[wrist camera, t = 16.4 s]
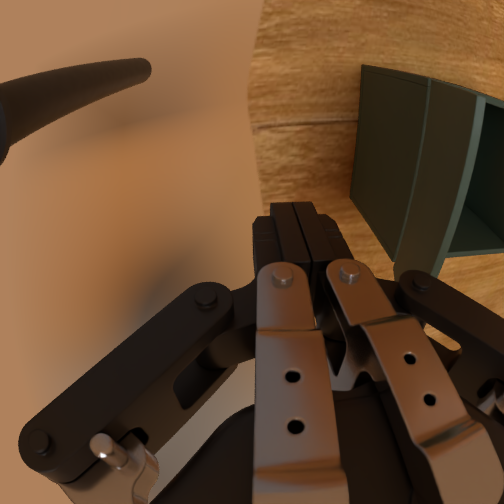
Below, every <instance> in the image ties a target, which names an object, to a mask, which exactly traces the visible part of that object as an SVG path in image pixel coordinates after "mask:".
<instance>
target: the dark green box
mask: <svg viewBox="0 0 504 504" xmlns="http://www.w3.org/2000/svg"><path fill="white" fill-rule="evenodd" d="M431 80H435V81H439V82H442V83H445V84H449V85H452V86H455V87H458V88H461V89H464V90H467V91H469V92H472V93H475V94H478V95H480V96H483V97H485V98H486V104H485V111H484V118H483V124H482V129H481V135H480V140H479V145H478V150H477V155H476V159H475V163H474V168H473V172H472V176H471V180H470V183H469V187H468V191H467V194H466V198H465V201H464V205H463V208H462V211H461V214H460V218H459V221H458V224H457V227H456V230H455V233H454V236H453V238H452V241H451V244H450V247H449V250H448V252H447V255H446V257H445V258H450V257H462V256H474V255H485V254H496V253H504V101H503V100H500V99H497V98H495V97H492V96H489V95H487V94H484V93H481V92H478V91H475V90H472V89H469V88H466V87H462V86H459V85H456V84H452V83H449V82H445V81H441V80H438V79H434V78H430V77H426V76H422V75H417V74H413V73H408V72H403V71H398V70H393V69H387V68H382V67H376V66H369V65H362V71H361V89H360V104H359V117H358V128H357V138H356V148H355V157H354V166H353V174H352V182H351V189H350V196H349V198H350V199H351V200H352V202H353V203H354V205H355V206H356V208H357V209H358V210H359V212H360V213H361V215H362V216H363V218H364V219H365V221H366V222H367V224H368V225H369V227H370V228H371V230H372V231H373V233H374V234H375V236H376V237H377V239H378V240H379V242H380V243H381V245H382V246H383V248H384V250H385V251H386V253H387V254H388V256H389V257H390V259H391V261H392V262H395V260H396V257H397V254H398V250H399V247H400V243H401V240H402V236H403V233H404V229H405V225H406V221H407V217H408V213H409V209H410V205H411V201H412V197H413V192H414V188H415V183H416V178H417V173H418V168H419V163H420V158H421V152H422V147H423V141H424V134H425V128H426V121H427V113H428V105H429V97H430V87H431Z"/></svg>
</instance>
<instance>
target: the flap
mask: <svg viewBox="0 0 504 504" xmlns="http://www.w3.org/2000/svg"><path fill="white" fill-rule="evenodd" d="M485 104H486V98H485V97H483V96H480V95H478V94H475V93H472V92H469V91H467V90H464V89H461V88H458V87H455V86H452V85H449V84H445V83H442V82H439V81H435V80H431V87H430V97H429V105H428V113H427V121H426V128H425V134H424V141H423V147H422V152H421V158H420V163H419V168H418V173H417V178H416V183H415V188H414V192H413V197H412V201H411V205H410V209H409V213H408V217H407V221H406V225H405V229H404V233H403V236H402V240H401V243H400V247H399V250H398V254H397V257H396V260H395V264H394V267H393V270H394V279H395V281H396V282H398V281H399V278H400V276H401V274H402V273H403V272H405V271H408V270H420V271H423V272H426V273H428V274H430V275H432V276H433V277H435V278H437V277H438V275H439V273H440V270H441V268H442V265H443V263H444V260H445V257H446V255H447V252H448V250H449V247H450V244H451V241H452V238H453V236H454V233H455V230H456V227H457V224H458V221H459V218H460V214H461V211H462V208H463V205H464V201H465V198H466V194H467V191H468V187H469V183H470V180H471V176H472V172H473V168H474V163H475V159H476V155H477V150H478V145H479V140H480V135H481V129H482V124H483V118H484V111H485Z"/></svg>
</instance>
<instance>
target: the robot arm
mask: <svg viewBox="0 0 504 504" xmlns="http://www.w3.org/2000/svg"><path fill="white" fill-rule="evenodd" d="M252 225H253V226H252V229H253V261H254V271H255V272H254V273H255V278H254V280H253V281H252V282H251V283H249V284H248V285H246V286H244V287H242V288H239V289H236V290H233V291H230V290H229V289H228V288H227V287H226V286H224V285H222V284H220V283H216V282H202V283H198V284H195V285H193V286H191V287H189V288H188V289H187V290H185V291H184V292H183V293H182V294H180V295H179V296H178V297H177V298H175V299H174V300H173V301H172V302H171V303H169V304H168V305H167V306H166V307H165V308H163V309H162V310H161V311H160V312H159V313H157V314H156V315H155V316H154V317H152V318H151V319H150V320H149V321H148V322H146V323H145V324H144V325H143V326H142V327H140V328H139V329H138V330H137V331H135V332H134V333H133V334H132V335H131V336H129V337H128V338H127V339H126V340H125V341H123V342H122V343H121V344H120V345H119V346H117V347H116V348H115V349H114V350H113V351H112V352H110V353H109V354H108V355H107V356H105V357H104V358H103V359H102V360H101V361H99V362H98V363H97V364H96V365H95V366H94V367H92V368H91V369H90V370H89V371H87V372H86V373H85V374H84V375H83V376H82V377H80V378H79V379H78V380H77V381H76V382H74V383H73V384H72V385H71V386H70V387H68V388H67V389H66V390H65V391H64V392H63V393H61V394H60V395H59V396H58V397H57V398H55V399H54V400H53V401H52V402H51V403H50V404H48V405H47V406H46V407H45V408H44V409H43V410H41V411H40V412H39V413H38V414H37V415H35V416H34V417H33V418H32V419H31V420H30V421H28V422H27V424H25V426H24V427H23V429H22V431H21V433H20V436H19V441H18V446H19V452H20V455H21V458H22V459H23V461H24V463H25V464H26V465H27V466H28V467H29V468H31V469H33V470H34V471H36V472H38V473H40V474H42V475H44V476H45V477H47V478H48V479H49V480H51V481H53V482H55V483H56V484H58V485H59V486H60V487H61V489H62V490H63V491H64V492H65V494H66V495H67V496H68V497H69V499H70V500H71V501H72V502H73V503H74V504H148V495H149V492H150V490H151V488H152V487H153V485H154V484H155V483H156V481H157V479H158V476H159V464H158V461H157V459H156V457H155V456H154V454H155V453H157V452H158V450H160V448H161V447H163V446H164V445H165V443H167V442H168V441H169V440H170V439H171V437H173V435H175V434H176V433H177V431H178V430H179V429H180V428H181V427H182V426H183V425H184V424H185V423H186V422H187V421H188V420H189V419H190V418H191V417H192V416H193V415H194V414H195V413H196V412H197V411H198V410H199V409H200V408H201V406H203V404H204V403H205V402H206V401H207V400H208V399H209V398H210V397H211V396H212V395H213V394H214V393H215V391H217V389H218V388H219V387H220V386H221V385H222V384H223V383H224V382H225V381H226V379H228V377H229V376H230V375H231V374H232V373H233V372H234V370H235V369H236V368H237V366H238V364H239V363H242V362H245V361H248V360H250V359H253V358H255V404H253V405H250V406H248V407H246V408H244V409H242V410H240V411H238V412H237V413H234V414H233V415H232V416H230V417H229V418H228V419H226V420H225V421H224V422H223V423H222V424H221V425H220V426H219V427H218V428H217V429H216V430H215V431H214V432H213V433H212V435H211V436H210V437H209V438H208V439H207V440H206V442H205V443H204V444H203V445H202V446H201V448H200V449H199V450H198V451H197V452H196V453H195V454H194V456H193V457H192V458H191V459H190V460H189V461H188V462H187V464H186V465H185V466H184V467H183V468H182V469H181V470H180V472H179V473H178V474H177V475H176V476H175V477H174V478H173V479H172V480H171V481H170V482H169V483H168V484H167V486H166V487H165V488H164V489H163V490H162V491H161V492H160V493H159V494H158V495H157V496H156V497H155V498H154V499H153V500H152V501H151V502H150V504H504V319H503V318H502V317H500V316H499V315H497V314H495V313H494V312H492V311H491V310H489V309H487V308H486V307H484V306H482V305H481V304H479V303H478V302H476V301H474V300H473V299H471V298H469V297H468V296H466V295H464V294H463V293H461V292H459V291H458V290H456V289H454V288H452V287H451V286H449V285H447V284H446V283H444V282H442V281H440V280H439V279H437V278H435V277H433V276H432V275H430V274H428V273H426V272H423V271H420V270H408V271H405V272H403V273H402V274H401V276H400V278H399V281H398V282H396V281H390V280H384V279H379V278H375V276H374V275H373V273H372V272H371V270H370V269H369V268H368V267H367V266H366V265H365V264H363V263H362V262H359V261H357V260H355V259H354V257H353V255H352V253H351V251H350V249H349V247H348V245H347V243H346V241H345V240H344V238H343V236H342V234H341V232H340V231H339V228H338V226H337V224H336V222H335V221H334V220H333V219H331V218H330V217H329V216H328V215H326V214H317V212H316V209H315V207H314V205H313V203H312V202H292V203H291V202H276V203H271V204H270V216H258V217H257V218H256V219H255V221H254V223H253V224H252ZM314 317H315V319H316V323H317V324H316V325H315V319H314ZM426 323H428V324H429V325H431V326H432V327H434V328H436V329H437V330H439V331H440V332H442V333H444V334H445V335H447V336H448V337H450V338H452V339H453V340H455V341H456V342H458V343H459V344H460V346H461V348H460V349H459V350H456V351H452V350H449V349H448V348H446V347H444V346H443V345H441V344H440V343H438V342H437V341H435V340H434V339H432V338H430V337H429V336H427V335H426V334H425V332H424V330H423V329H424V327H425V325H426Z"/></svg>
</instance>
